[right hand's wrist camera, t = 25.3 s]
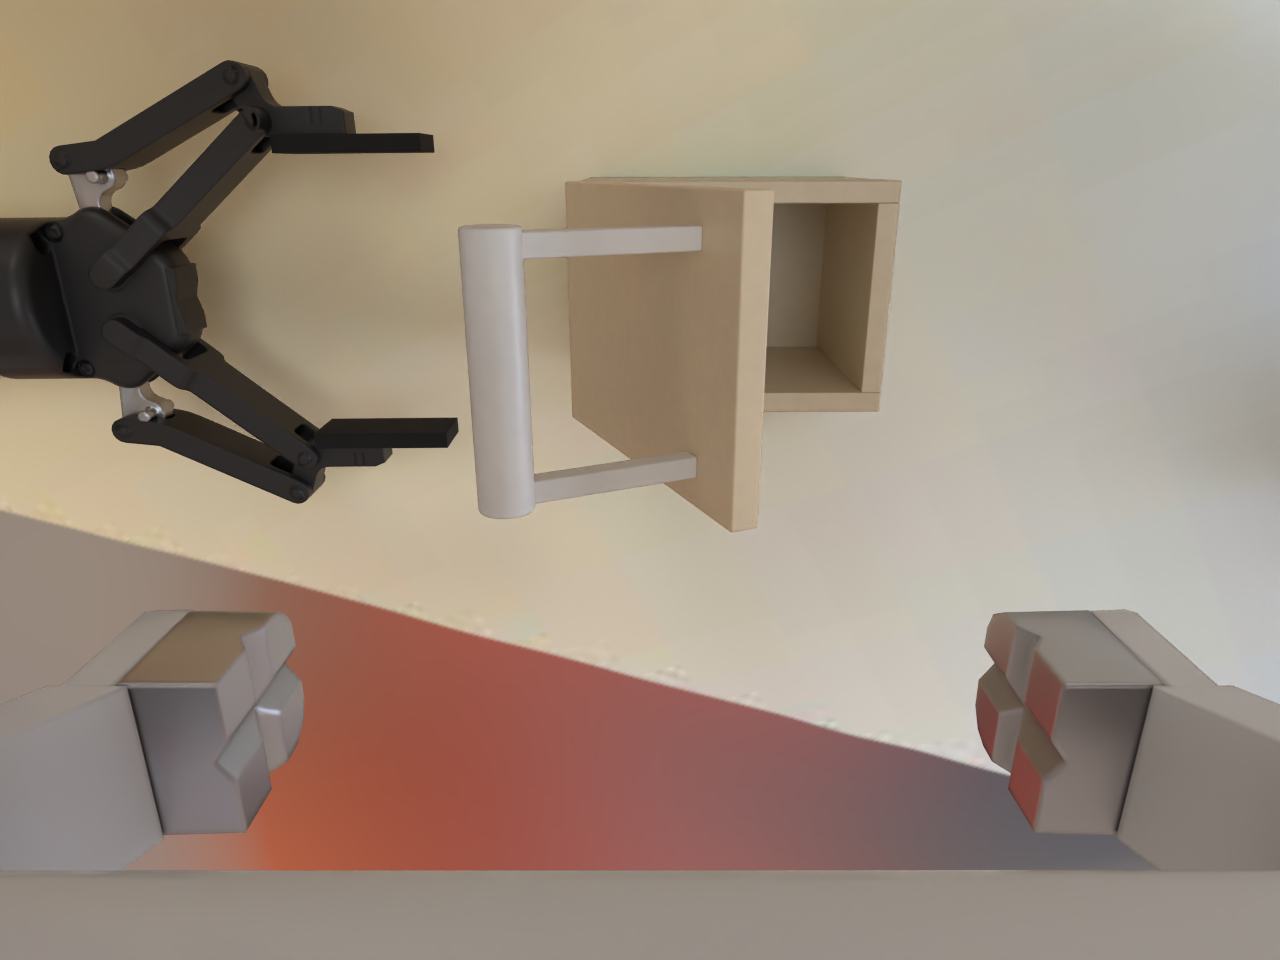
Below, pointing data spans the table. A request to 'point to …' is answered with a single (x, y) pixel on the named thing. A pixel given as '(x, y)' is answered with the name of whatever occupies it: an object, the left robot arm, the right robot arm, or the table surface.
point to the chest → (822, 287)
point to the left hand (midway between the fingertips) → (441, 296)
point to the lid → (630, 345)
